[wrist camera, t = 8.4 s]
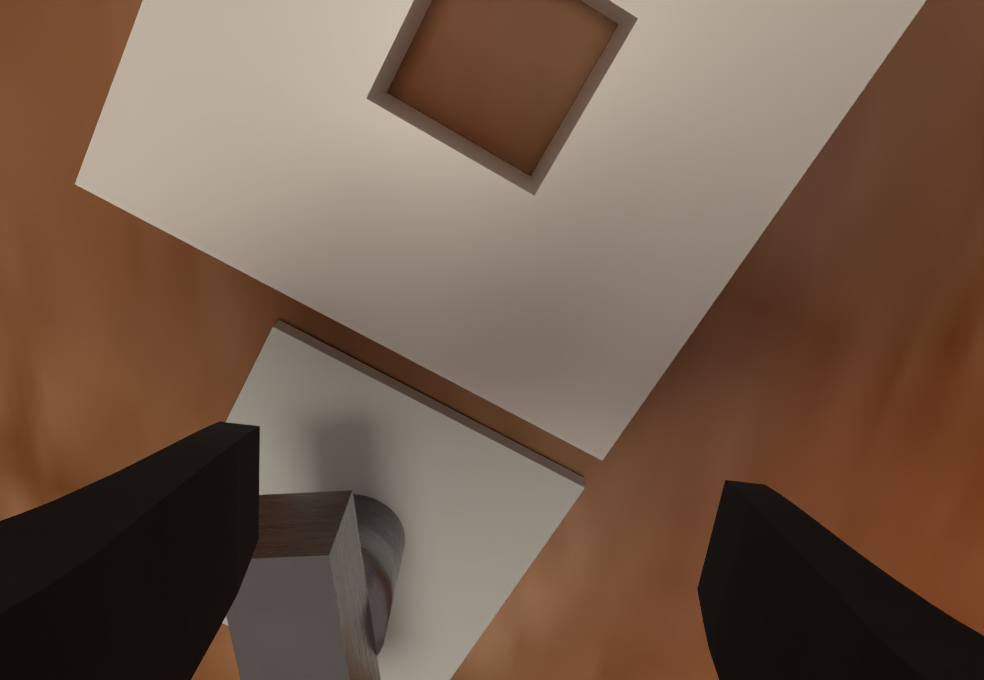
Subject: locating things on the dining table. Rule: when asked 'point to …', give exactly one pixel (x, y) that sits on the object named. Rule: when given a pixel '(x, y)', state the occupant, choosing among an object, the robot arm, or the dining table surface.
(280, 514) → the t key
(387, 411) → the grey mat
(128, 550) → the robot arm
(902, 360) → the dining table surface
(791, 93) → the key housing
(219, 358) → the dining table surface
